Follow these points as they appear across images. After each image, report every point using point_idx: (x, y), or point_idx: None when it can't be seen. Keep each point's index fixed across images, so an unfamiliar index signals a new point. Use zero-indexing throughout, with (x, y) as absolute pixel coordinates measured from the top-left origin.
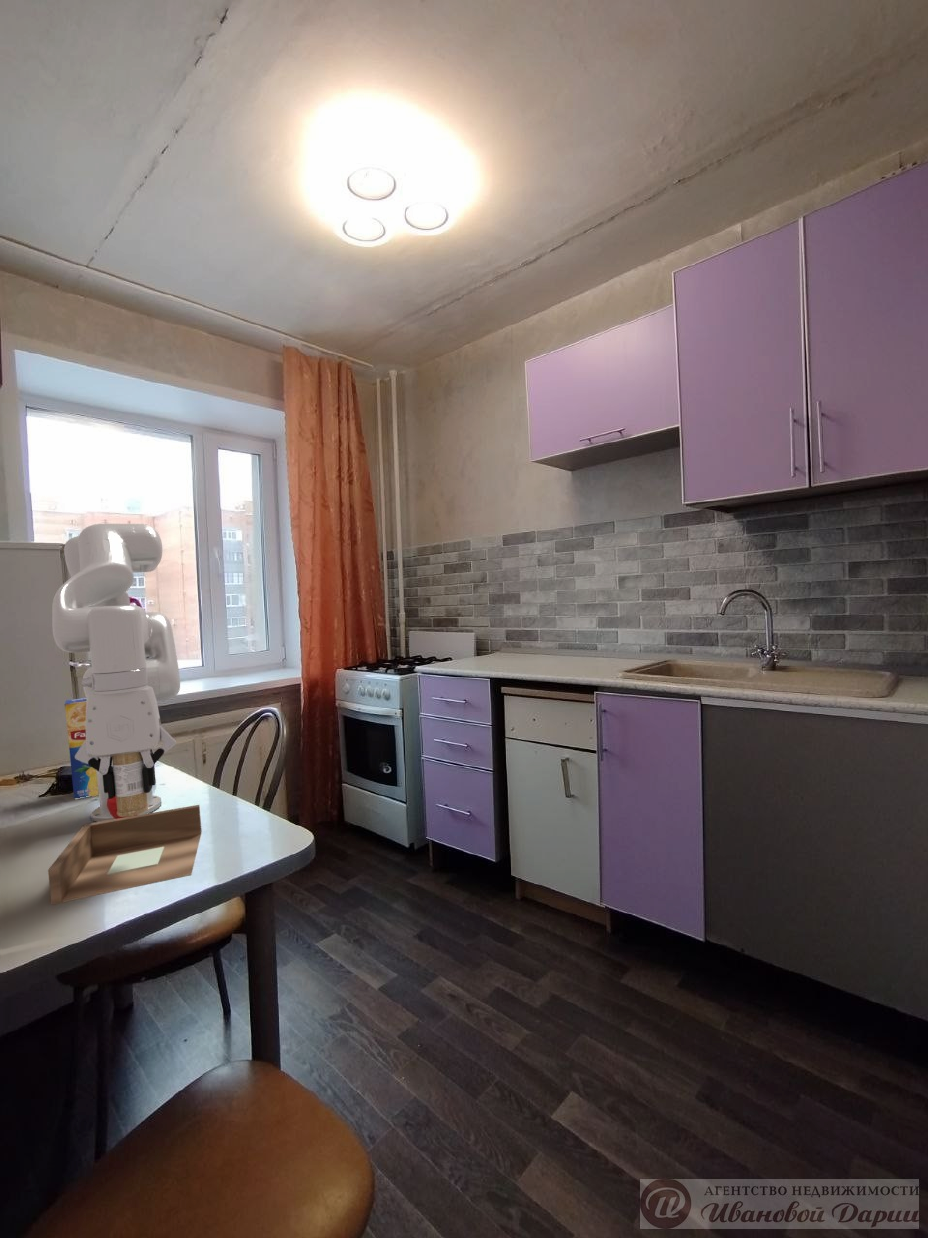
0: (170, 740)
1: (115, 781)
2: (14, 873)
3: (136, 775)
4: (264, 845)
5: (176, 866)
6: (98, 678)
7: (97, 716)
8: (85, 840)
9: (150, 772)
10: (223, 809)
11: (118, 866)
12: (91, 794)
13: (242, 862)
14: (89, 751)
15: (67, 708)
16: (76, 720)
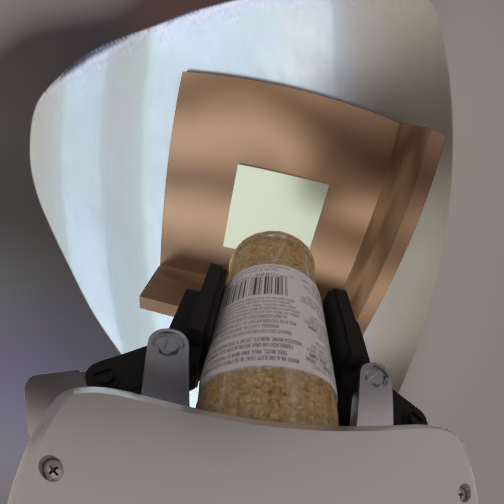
0: (33, 404)
1: (326, 331)
2: (424, 311)
3: (240, 316)
4: (70, 149)
5: (204, 129)
6: None
7: None
8: (360, 297)
9: (182, 322)
10: (139, 347)
11: (307, 207)
12: None
13: (103, 95)
14: (463, 449)
15: None
16: None
